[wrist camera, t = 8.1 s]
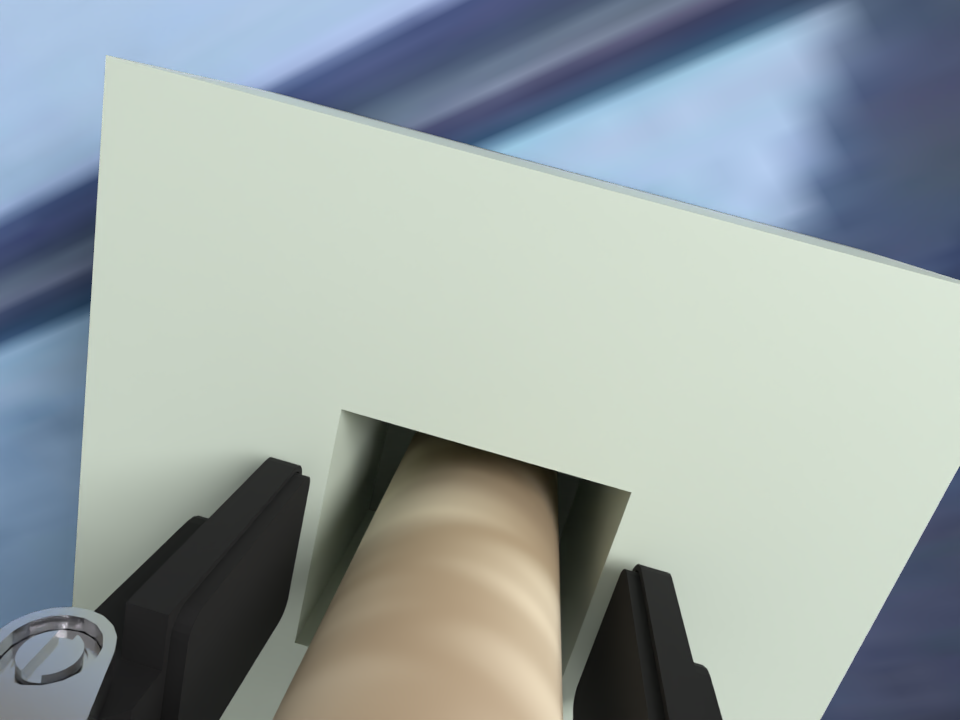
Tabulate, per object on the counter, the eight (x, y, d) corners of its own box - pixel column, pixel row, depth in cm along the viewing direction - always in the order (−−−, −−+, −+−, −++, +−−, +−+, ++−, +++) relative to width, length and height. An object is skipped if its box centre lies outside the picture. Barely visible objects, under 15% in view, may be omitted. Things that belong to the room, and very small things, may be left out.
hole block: (861, 249, 15) (1046, 307, 9) (657, 711, 19) (696, 944, 14) (274, 92, 15) (106, 55, 10) (207, 576, 20) (63, 745, 14)
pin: (575, 410, 16) (641, 1061, 4) (534, 535, 17) (501, 1319, 5) (431, 369, 16) (125, 906, 4) (399, 497, 17) (91, 1190, 6)
